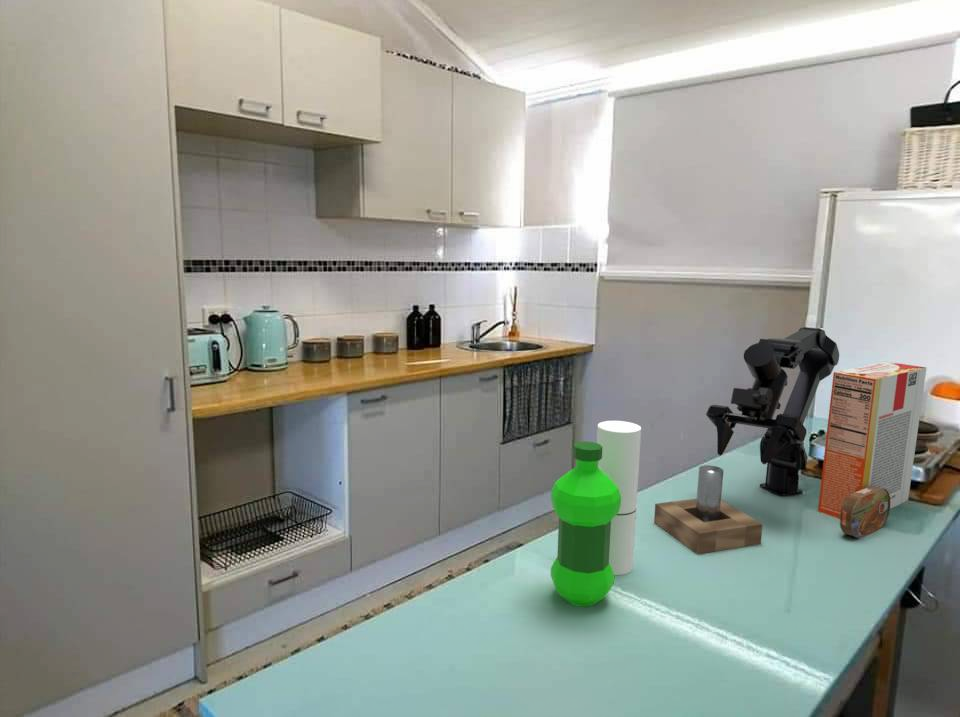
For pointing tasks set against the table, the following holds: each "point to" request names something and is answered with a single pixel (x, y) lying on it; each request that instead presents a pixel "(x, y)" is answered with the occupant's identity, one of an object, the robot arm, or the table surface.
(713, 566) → the table surface
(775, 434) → the robot arm
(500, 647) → the table surface
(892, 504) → the pasta box
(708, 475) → the grey glossy round cylinder
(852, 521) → the tin
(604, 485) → the plastic bottle
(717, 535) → the collar block
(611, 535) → the cylindrical container
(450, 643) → the table surface
